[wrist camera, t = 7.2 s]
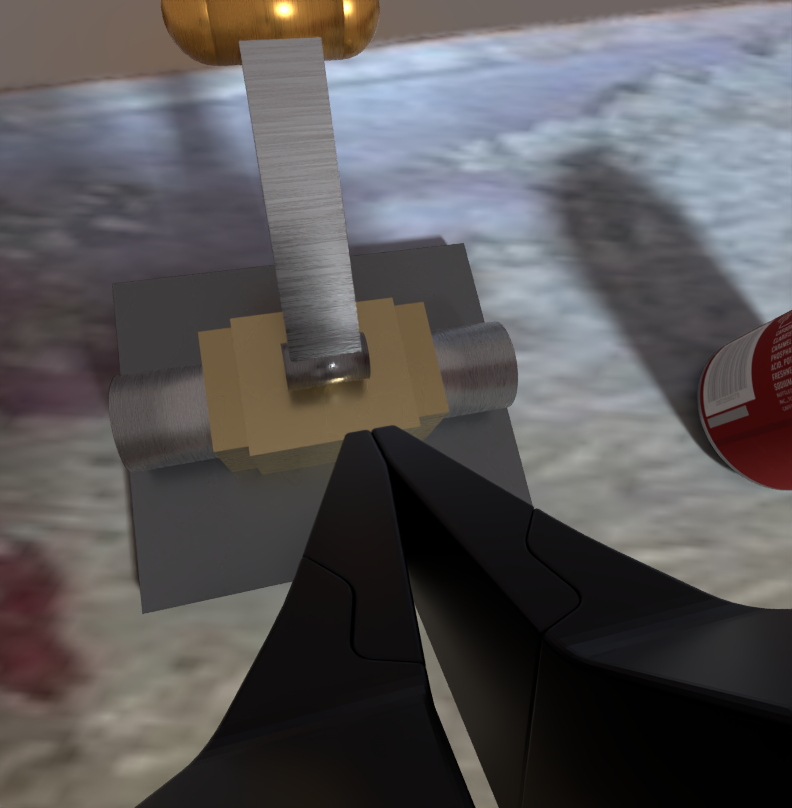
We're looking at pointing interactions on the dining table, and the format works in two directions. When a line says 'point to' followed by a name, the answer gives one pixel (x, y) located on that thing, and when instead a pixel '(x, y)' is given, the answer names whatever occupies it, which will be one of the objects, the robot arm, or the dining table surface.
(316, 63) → the lever
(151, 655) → the dining table surface
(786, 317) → the soda can
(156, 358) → the valve base
